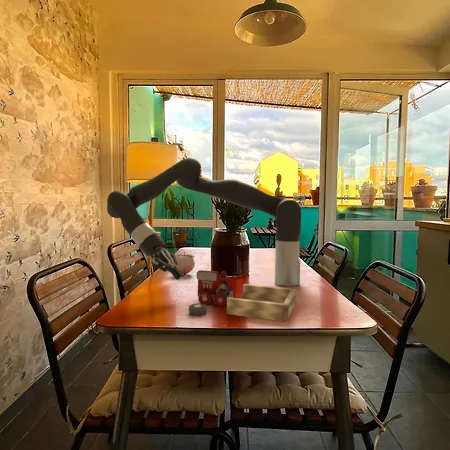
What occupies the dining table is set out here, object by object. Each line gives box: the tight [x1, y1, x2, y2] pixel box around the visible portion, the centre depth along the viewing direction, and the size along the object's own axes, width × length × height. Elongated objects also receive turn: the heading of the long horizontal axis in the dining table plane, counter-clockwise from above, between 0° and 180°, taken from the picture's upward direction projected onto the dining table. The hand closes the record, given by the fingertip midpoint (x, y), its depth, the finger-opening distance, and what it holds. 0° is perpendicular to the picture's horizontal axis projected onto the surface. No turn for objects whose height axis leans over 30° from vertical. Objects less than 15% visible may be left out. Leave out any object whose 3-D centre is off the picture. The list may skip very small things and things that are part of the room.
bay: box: [226, 283, 297, 322], centre depth 102 cm, size 18×18×4 cm
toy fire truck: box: [196, 269, 236, 307], centre depth 107 cm, size 7×12×10 cm, turn 78°
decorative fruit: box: [175, 252, 196, 276], centre depth 147 cm, size 9×8×10 cm
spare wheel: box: [188, 303, 207, 317], centre depth 97 cm, size 5×5×2 cm
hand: (180, 277), depth 111 cm, fingers closed
